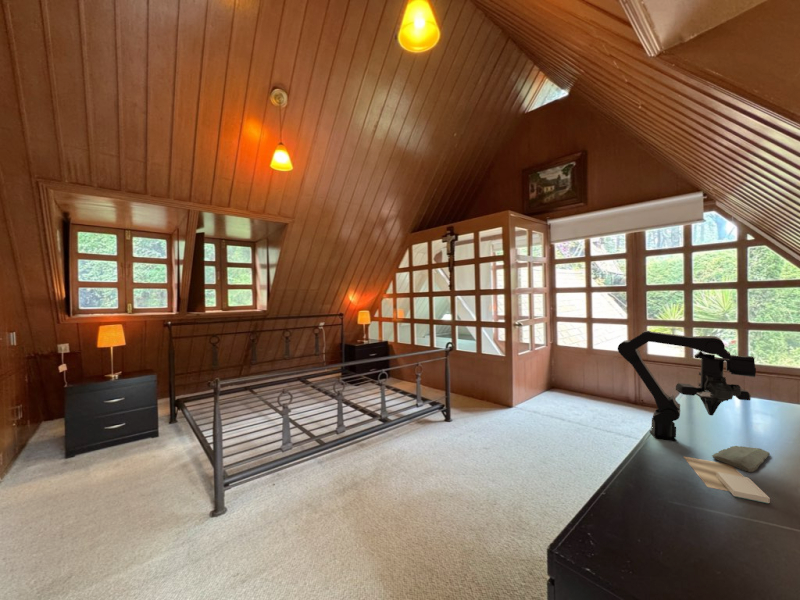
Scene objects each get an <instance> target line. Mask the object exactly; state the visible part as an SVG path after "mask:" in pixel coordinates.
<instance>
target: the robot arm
mask: <svg viewBox="0 0 800 600" xmlns="http://www.w3.org/2000/svg"><path fill="white" fill-rule="evenodd" d="M649 342H650V343H651V342H652V343H658V344H665V345H672V346H678V347H686V348H690V349H694V350H696V351H699V352H698V353H696V354H694V358H695V359H701V360H700V371H699V372H698V375H699V376H700V382H698V386H697V387H696V386H694V385H692V384H690V383H681V382H678V383H676V385H675V391H676V392H678V393H680V394H681V395H684V396H685V395H686V396H697V397H699V399H700V400H701V402H702V404H703V406H704V407H705V410H706V411H707V414H708V415H709V416H714V414H715V413H716V411H717V409H718V407H719V406H720V405H721V404H722V403H723V402H727V401H729V400H733V398H734V397H735V398H737V400H740V401H751V398H752V397H751V394H750V392H749V391H747V390H745V389H743V388H741V386H740V385H739V384H733V383H732V384H731V383H730V384H728V383H727V379H726V377H725V376H724V366H725V371H726V372H728V373H730V375H733V376H743V377H750V378H751V377H752V378H756V374H757V368H756V363H755V357H754V356H750V355H747V356H745V355H743V356H742V355H734V354H731V352H730V351H728V350H727V349H726V348H725V344H724V342H723V340H722V339H721V338H720V337H717V336H714V335H703V336H702V335H699V336H698V335H697V336H696V335H694V336H686V335H679V334H674V333H673V334H671V333H664V332H657V331H650V330H644V331H643V332H642V333H640V334H639V335H637V336H635V337H634V338H632V339H629V340H623V341H622V342H620V343H619V345H618V346H617V351H618V353H619V354H620V355H621V356H622V358H624V359H625V361H627V363H629V364H630V365H631V366H632V367H633V369H634V370H635V371H636V373H637V375H638V376H639V378H640V379H641V380H642V381H641V382H643V384H644V385H645V386H646V388H647V390H648V391H649V392H650V393H651V396H652V397H653V398H654V401H655V405H656V407H657V409H655V410H654V412H653V415H652V417H651V430H649V432H650V434H651V435H652V436H653V437H654V438H655V439H660V440H665V441H674V442H677V439H676V438H677V426H676V425H675V424H676V423H675V422H674V421H677V420H679V418H680V416H681V404H680V403H679V402H678V401H677V399H676V398H675V396H674V395H668V393H666V392H665V391H664V390H663V388H662V386H661V385H660V383H659V382H658V381H657V379H656V378H655V376H654V375H653V373H652V372H651V371H650V369H649V368H648V366H647V365H646V363H645V361H644V360H643V358H642V355H641V353H640V351H639V348H641V347H642V346H644V345H645V344H647V343H649ZM716 355H717V356H719V357H717V356H716ZM724 363H725V365H724ZM652 427H653V428H652Z"/></svg>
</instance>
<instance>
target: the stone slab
mask: <svg viewBox="0 0 800 600" xmlns="http://www.w3.org/2000/svg"><path fill="white" fill-rule="evenodd" d="M770 455H771V454H770V452H769V451H767V450H765V449H762V448H760V447H759V448H758V447H750V446H749V447H747V446H743V445H742V446H741V445H740V446H738V445H734V446H733V445H732V446H730V447H727V448H724V449H723V448H722V450H719V451H718V452H716V453H714V454H712V455H711V457H712V458H713V459H715V460H716V461H719V462H720V463H724V464H729V465H731V466H733V467H734V468H735V469H739V470H742V471H744V472H748V473H753V472H755V471H757V470H758V468H759V467H760V466H761V465H762V464H763V463H764V462H765V460H766V459H767V458H768V457H769V456H770Z"/></svg>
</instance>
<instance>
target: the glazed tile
mask: <svg viewBox="0 0 800 600" xmlns="http://www.w3.org/2000/svg"><path fill="white" fill-rule="evenodd" d="M716 476H717V478H718V479H719V480H720V481H721V482H722V483H723V485H724V486H725V487H726V488H727V489H728V490H729V491H728V492H729V493H731V495H732V496H733V498H739V499H743V500H744V499H745V500H748V501H754V502H758V503H763V504H770V502H771V501H770V500H771V498H770V497H769V496H768V495H767V493H765V492H764V491H763V490H762V489H761V488H760V487H759V486H758V485H757V484H756V483H755V482H754V481H752V479H750V478H749V477H746V476H744V477H742V476H737V475H732V474H726V473H721V472H716Z"/></svg>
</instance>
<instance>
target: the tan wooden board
mask: <svg viewBox="0 0 800 600" xmlns="http://www.w3.org/2000/svg"><path fill="white" fill-rule="evenodd" d="M683 459H684V460H686V462H687V463H688V465H689V466H690V468H691V469H692V470H693V471H694V472H695V473H696V474H697V476H698V477H699V478H700V479H701V481H702V482H703V483H704V484H705V486H706V487H707V488H711V489H717V490H722V491H726V492H730V491H729V490H728V489H727V488H726V487H725V486H724V485H723V483H722V482H721V481H720V480H719V479H718V478H717V476H716V472H721V473H726V474H732V475H737V476H742V477H745V476H744V475H743V474H742V473H740V471H738V470H737V468H736V467H733V466H731V465H729V464H726V463H724V462H718V461H711V460H706V459H699V458H695V457H689V456H683Z"/></svg>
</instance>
